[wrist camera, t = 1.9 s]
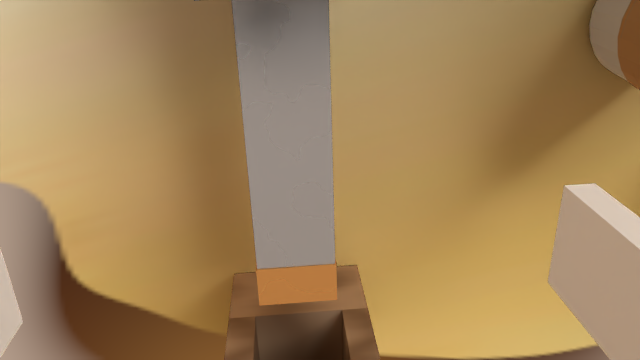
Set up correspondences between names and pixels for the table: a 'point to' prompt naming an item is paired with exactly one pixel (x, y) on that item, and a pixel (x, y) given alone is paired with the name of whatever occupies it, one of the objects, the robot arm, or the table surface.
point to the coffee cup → (617, 37)
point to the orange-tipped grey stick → (288, 145)
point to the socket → (301, 324)
